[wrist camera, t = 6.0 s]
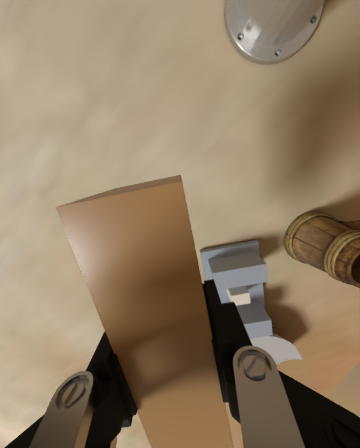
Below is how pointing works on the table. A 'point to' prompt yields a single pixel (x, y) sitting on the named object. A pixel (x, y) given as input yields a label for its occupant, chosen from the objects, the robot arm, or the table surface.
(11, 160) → the table surface
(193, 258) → the tan wooden plank
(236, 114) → the table surface
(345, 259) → the wooden mug
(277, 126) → the table surface
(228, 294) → the display stand
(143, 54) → the table surface
